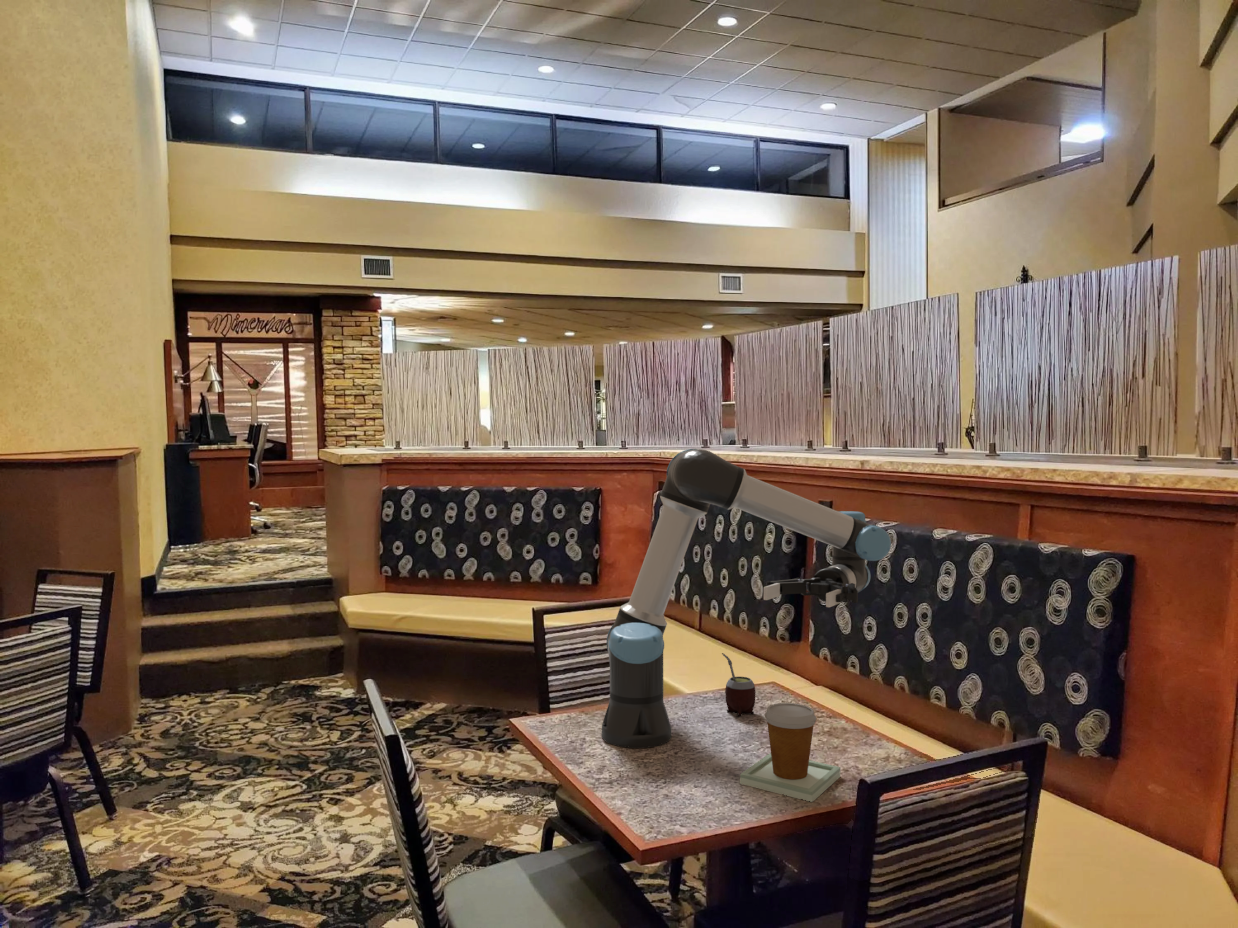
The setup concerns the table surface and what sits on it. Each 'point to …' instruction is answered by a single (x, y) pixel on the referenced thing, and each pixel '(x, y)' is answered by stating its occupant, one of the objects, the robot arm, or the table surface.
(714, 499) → the robot arm
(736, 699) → the mate gourd
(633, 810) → the table surface
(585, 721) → the table surface
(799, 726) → the disposable coffee cup
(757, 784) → the coaster plate
